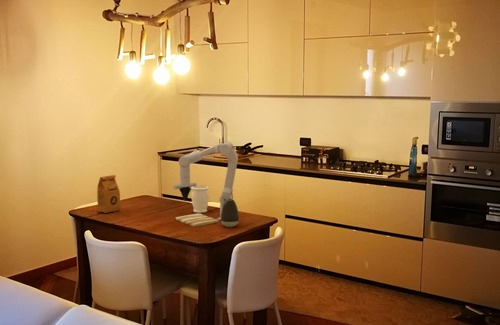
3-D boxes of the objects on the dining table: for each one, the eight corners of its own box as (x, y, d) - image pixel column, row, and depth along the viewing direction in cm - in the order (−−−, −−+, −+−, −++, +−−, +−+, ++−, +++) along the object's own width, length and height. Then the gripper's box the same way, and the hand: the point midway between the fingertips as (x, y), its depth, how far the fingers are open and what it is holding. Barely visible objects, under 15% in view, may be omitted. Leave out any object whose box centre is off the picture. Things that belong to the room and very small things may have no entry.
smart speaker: (231, 222, 291) (231, 195, 289) (243, 226, 283) (243, 199, 281) (216, 225, 285) (216, 198, 283) (227, 229, 277) (227, 201, 275)
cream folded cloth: (207, 218, 299) (208, 216, 299) (184, 223, 289) (184, 221, 289) (199, 215, 306) (199, 213, 306) (175, 219, 296) (175, 217, 296)
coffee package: (123, 211, 317) (121, 175, 314) (105, 214, 308) (103, 177, 304) (113, 208, 323) (112, 173, 320) (95, 211, 314) (94, 175, 311)
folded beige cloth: (218, 222, 292) (218, 220, 291) (195, 226, 281) (195, 224, 281) (209, 219, 298) (209, 217, 298) (185, 223, 288) (185, 221, 288)
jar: (200, 214, 310) (200, 189, 308) (188, 211, 316) (187, 187, 314) (212, 210, 318) (212, 186, 316) (200, 208, 325) (199, 184, 322)
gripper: (191, 174, 305) (191, 197, 307) (170, 177, 296) (170, 200, 298) (198, 176, 300) (198, 199, 302) (177, 178, 291) (177, 202, 293)
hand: (185, 200), depth 299 cm, fingers closed
